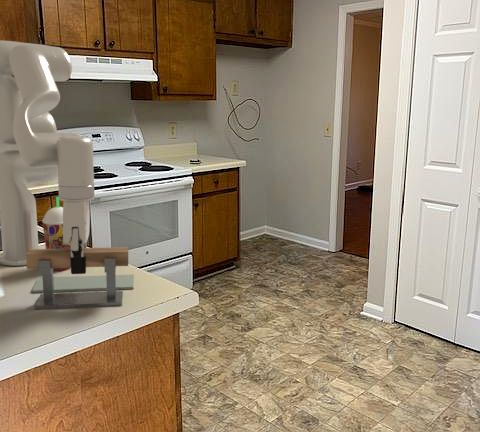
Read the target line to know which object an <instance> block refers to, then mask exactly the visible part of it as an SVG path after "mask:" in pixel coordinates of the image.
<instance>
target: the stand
mask: <svg viewBox="0 0 480 432" xmlns="http://www.w3.org/2000/svg"><path fill="white" fill-rule="evenodd" d="M38 265H39V269H38V275H39V276H40V275H42V278H43V292H42V293H41V294H40V295H39V296H38V299H37V300H36V303H35V305H34V310H49V308H50V310H52V308H53V309H70V308H71V309H73V308H93V307H94V308H95V307H96V308H97V307H98V308H99V307H118V306H123V296H124V291H123V290H116V275H117V274H116V273H117V266H116V261H115V257H114V258H104V267H103V268H104V274H105V275H106V281H107V290H106V291H94V292H93V291H81V292H65V293H64V292H54V279H53V277H54V270H53V268H51V259H39V260H38Z"/></svg>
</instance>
